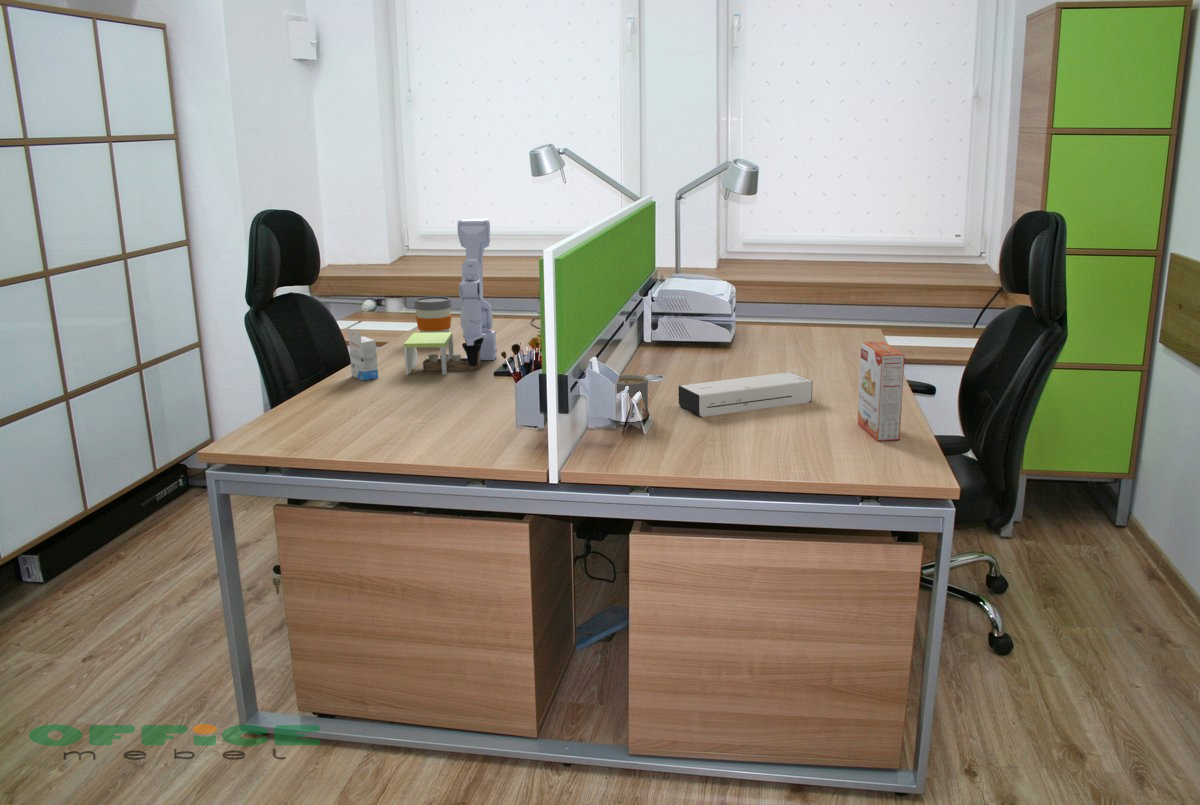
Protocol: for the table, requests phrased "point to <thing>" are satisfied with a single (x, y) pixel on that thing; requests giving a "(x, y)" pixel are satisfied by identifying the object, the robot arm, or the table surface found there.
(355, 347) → the ink box
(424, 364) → the wooden slotted rack
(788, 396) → the laminator
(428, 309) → the reusable coffee cup
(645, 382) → the coffee mug
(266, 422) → the table surface
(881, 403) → the cracker box
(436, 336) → the green top stool
